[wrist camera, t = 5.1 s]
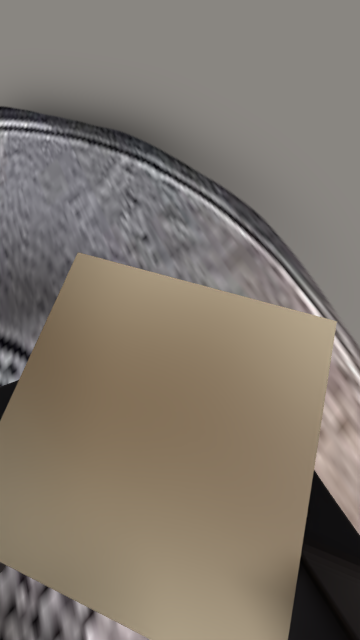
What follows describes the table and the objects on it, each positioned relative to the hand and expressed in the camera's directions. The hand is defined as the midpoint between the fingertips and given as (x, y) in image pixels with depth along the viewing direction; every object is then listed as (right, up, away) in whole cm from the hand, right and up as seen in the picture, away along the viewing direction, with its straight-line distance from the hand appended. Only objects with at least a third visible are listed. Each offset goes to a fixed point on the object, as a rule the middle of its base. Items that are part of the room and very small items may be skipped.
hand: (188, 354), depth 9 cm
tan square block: (0, -3, +7) cm, 7 cm away
